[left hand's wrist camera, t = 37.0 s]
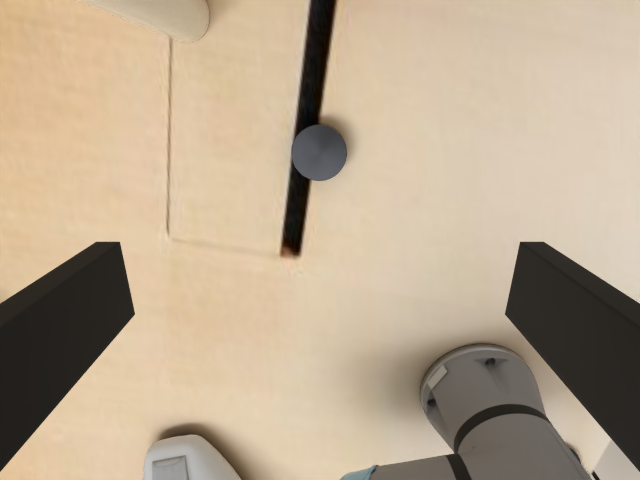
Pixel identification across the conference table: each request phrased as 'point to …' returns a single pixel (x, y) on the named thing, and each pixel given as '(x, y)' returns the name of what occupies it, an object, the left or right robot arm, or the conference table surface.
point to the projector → (186, 460)
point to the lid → (319, 152)
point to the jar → (161, 16)
